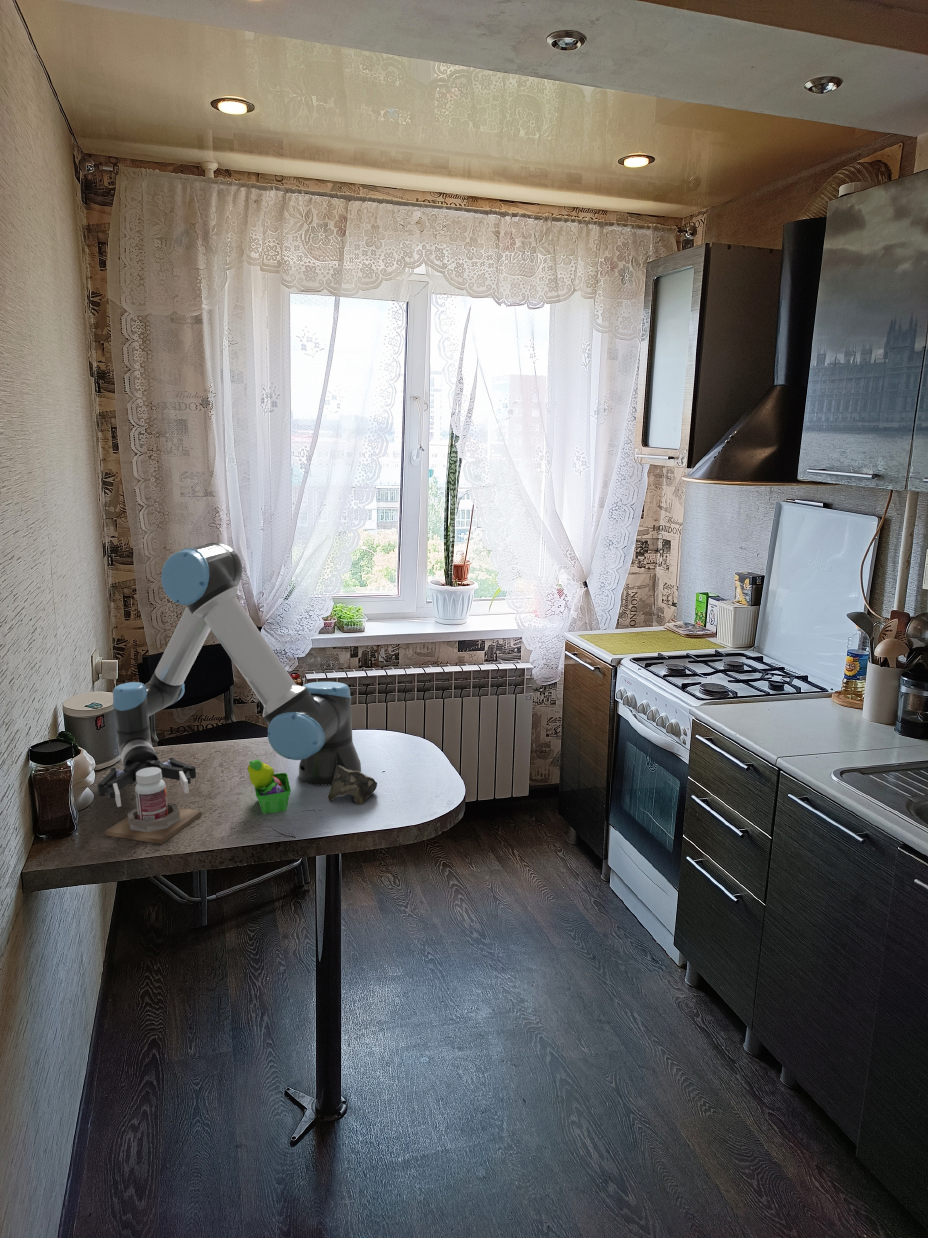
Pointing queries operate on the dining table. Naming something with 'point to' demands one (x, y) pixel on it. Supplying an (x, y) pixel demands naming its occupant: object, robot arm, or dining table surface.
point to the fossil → (351, 785)
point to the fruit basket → (269, 787)
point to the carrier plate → (154, 834)
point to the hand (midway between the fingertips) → (153, 793)
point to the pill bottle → (151, 794)
